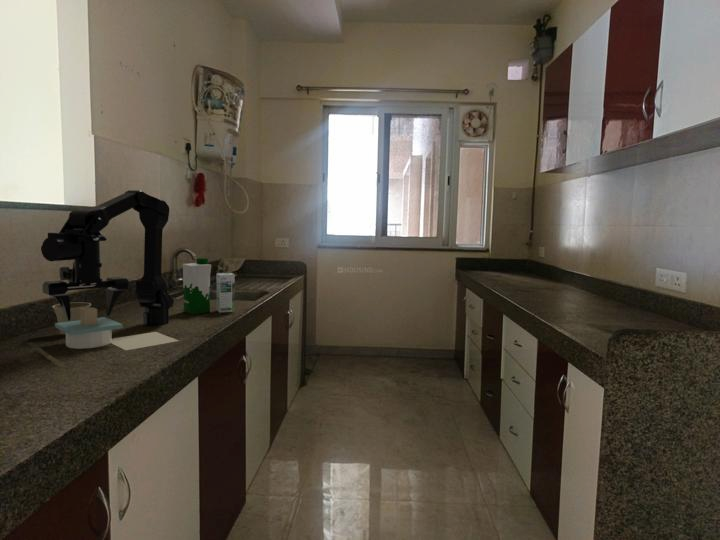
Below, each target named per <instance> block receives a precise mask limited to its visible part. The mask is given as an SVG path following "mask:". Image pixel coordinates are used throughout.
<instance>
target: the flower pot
mask: <svg viewBox="0 0 720 540" xmlns="http://www.w3.org/2000/svg"><path fill="white" fill-rule="evenodd" d="M91 306H92V303H91V302H83V301H81V302H78V301H77V302H76V301H75V302H70V311H71V319H70V321H78V320H80V309H81V308H91ZM52 309H53V311H54V313H55V314H56V320H57V323H61V322H70V321H68V320H67V318H66V316H65V314H64V312H63V309H62V307H61V305H60V303H57V304H54V305H52ZM58 330H59V335H66V333H65V332H64V331H62V330H60V329H58Z"/></svg>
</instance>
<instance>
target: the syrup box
mask: <svg viewBox="0 0 720 540" xmlns="http://www.w3.org/2000/svg"><path fill="white" fill-rule="evenodd" d="M235 276H236V275H235V273H234V272H221V273H220V272H218V273H216V311H217V312H218V313H219V314H222V313H235V311H236V309H235V308H236V307H235V306H236V305H235V304H236V303H235V301H236V300H235V299H236V298H235V293H236V292H235V290H236V289H235V284H236V283H235V279H236V277H235Z"/></svg>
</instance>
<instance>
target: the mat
mask: <svg viewBox="0 0 720 540" xmlns="http://www.w3.org/2000/svg"><path fill="white" fill-rule="evenodd" d="M179 341H180V340H178V339H176V338H173V337H171V336H167V335H165V334H162V333H160V332H157V331H151V332H147V333H140V334H132V335H126V336H120V337H114V338H113V337H112V341H111V342H110V344H112V345H114V346H116V347H117V348H120V349H122V350H124V351H131V350H137V349H143V348H148V347H153V346H159V345H164V344H170V343H176V342H179Z"/></svg>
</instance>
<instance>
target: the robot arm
mask: <svg viewBox="0 0 720 540" xmlns="http://www.w3.org/2000/svg"><path fill="white" fill-rule="evenodd" d="M131 209H132V210H134V211H135V212H137V213H138V217H139V220H140V222H141V225H142V226H143V228H144V245H143V246H144V248H143V250H144V251H143V252H144V254H143V275H142V277H141V278H140V280H136V281H135V288H136V289H135V295H136V299H137V301H138V303H139V306H140V308H144V311H143V313H142V314H143V315H142V319H143V320H142V322H143V323H142V324H143V325H144V326H146V327H158V326H165V325H167V324H170V322H169V319H170V317H169V313H170V312H169V309H171V308H173V306H174V302H175V300H174V298H173V297H172V296H171V295H170V294H169V292H168V288H167V283H166V281H165V279H164V277H163V276H162V261H163V260H162V257H163V255H162V254H163V231H164V228H165V227H166V225H167V224H168V222H169V216H170V205H168V202H166V201H165V200H163V199H159V198H157V197H155V196H152V195H149V194H147V193H146V192H144V191H142V190H140V189H139V190H138V189H137V190H135V189H134V190H131V189H130V190H127V191H125V192H124V193H122V194H120V195H117V196H116V197H113V198H111V199H109V200H107V201H105V202H103V203H100V204H98V205H96V206H95V205H94V206H89V207H83V208H79V209H78V208H77V209H74V210H72V211H71V212H69V214H68V219H67V220H66V221H65V223H64V224H63V226H62V228H61V229H60V231H59V232H48V233H47V238H45V239H44V241H43V242H42V245H41V247H40V250H41V254H42V256H43V258H44V259H45V260H47V262H48V261H49V262H61V261H74V262H72V268H70V266H61V267H60V268H59V278H60V280H51V281H44V282H43V283H42V285H41V286H42V293H43V294H46V295H47V296H49V297H52V298H54V299H56V301H57V302H58V304H60V305H61V307H62V309H63V312H64V314H65V316H66V318H67V320H68V321H70V319H71V311H70V303H71V299H70V294H67V293H68V291H79V290H91V289H104V290H105V291H104V292H105V295H106V299H105V302H106V303H105V315H106V316H107V317H109V316H110V315H111V313H112V310H113V308H114V306H115V305H116V302H117V300H118V299H119V297H120V296H121V294H122V293H125V290H130V281H129V279H128V278H127V277H121V276H113V277H112V276H111V277H107V278H106V279H105V280H103V278H101V268H103V265H102V262H101V242H106V241H107V238H106V237H105V236H104V235H102V234H101V231H103V230H104V229H105V228H106V227H107V226H108V225H109V223H110V221H111V220H112V219H113V218H116V217H118V216H120V215H121V214H123V213H126V212H127V211H129V210H131ZM66 281H68V282H66Z"/></svg>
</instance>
